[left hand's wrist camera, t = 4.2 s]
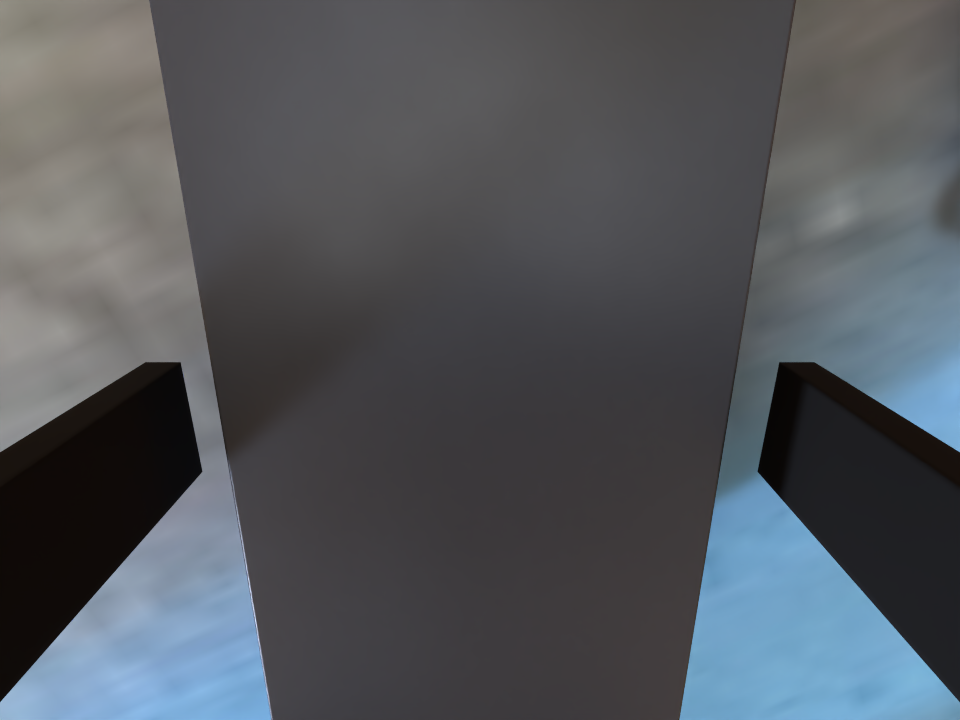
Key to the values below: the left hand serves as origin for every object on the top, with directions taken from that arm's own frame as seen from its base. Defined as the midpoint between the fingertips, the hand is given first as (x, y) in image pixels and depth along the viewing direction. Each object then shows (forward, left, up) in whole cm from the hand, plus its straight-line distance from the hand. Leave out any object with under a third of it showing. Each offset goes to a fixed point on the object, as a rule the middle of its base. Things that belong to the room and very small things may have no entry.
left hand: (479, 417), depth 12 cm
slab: (+23, 0, -5) cm, 23 cm away
